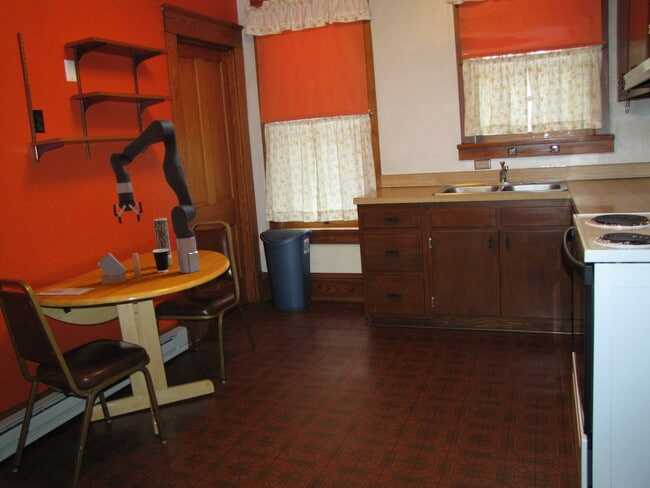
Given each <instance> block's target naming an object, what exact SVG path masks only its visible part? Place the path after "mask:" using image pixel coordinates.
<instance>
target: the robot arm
mask: <svg viewBox="0 0 650 488" xmlns="http://www.w3.org/2000/svg"><path fill="white" fill-rule="evenodd" d="M156 140H162V143H163V145H164V155H163V162H162V171H163V174H164V178H165V181H166V183H167V184H168V186H169V188H171V190H172V191H173V192H174V194H175V196H176V197H177V201H178V205H176V206H173V207H172V209H171V212H170V218H171V219H170V220H171V225H172V230H173V233H174V235H175V242H176V250H177V259H178V266H179V267H178V268H179V272H180V274H192V273H194V272H195V273H196V272H198V271H200V270H201V267H200V258H199V252H198V251H197V243H196V235H195V230H193V229H191V228H190V227H189V223H191V222H194V220H195V219H196V216H197V215H196V214H197V213H196V207H195V206H194V203H193V201H192V198H191V195H190V192H189V188H188V185H187V180H186V177H185V176H186V175H185V173H184V168H183V165H182V162H181V157H180V153H179V149H178V148H179V146H178V143H177V141H178V140H177V135H176V129H175V125H174V124H173V122H172V121H171V120H169V119H155V120H152V122H150V123H149V125H147V127H146V128H145V129H144V130H143V131H142V132H141V133H140V134H139V135H138V136H137V137H136V138H135V139H134V140H132V141H131V142H130V143H128V144H127V145H126V146H125V147H124V148H123V151H121V152H113V153H111V154H110V156H109V163H110V166H111V169H112V170H113V173H114V176H115V180H116V191H117V197H118V204H115V203H114V204H113V205H112V207H113V208H112V209H113V216H114V217H117V220H118V223H119V224H120V225H122V224H123V222H122V221H123V220H122V214H123V212H125V213H126V212H132V211H133V212H134V213H136V219H137V220H136V221H137V222H138V223H140V221H141V216H140V215H141V214H142V213H143V207H142V202H141V201H137V202H136V201H135V197H134V191H133V190H134V188H133V185H132V181H131V180H132V179H131V174H130V172H129V171H128V170H125V168H124V167H126V166H129V165H130V164H132V162H133V161H135V158H137V157H138V156H139V155H141V154H142V153H143V152H144V151H145V150H146V149H147V147H148V145H149V144H150V143H151V142H153V141H154V142H155V141H156ZM135 206H137V207H139V210H137V208H135ZM118 207H119V208H120V210H119V212H118V213H117V209H118Z"/></svg>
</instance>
